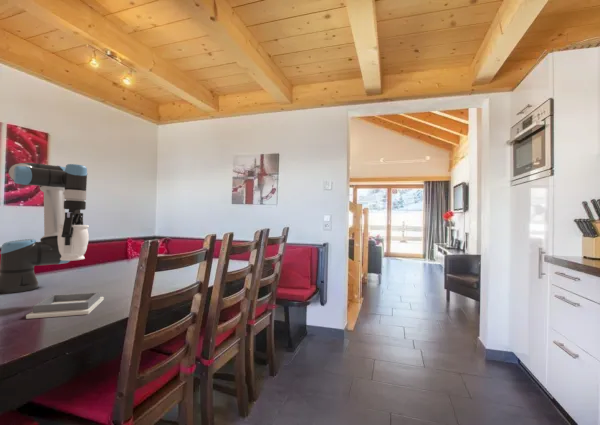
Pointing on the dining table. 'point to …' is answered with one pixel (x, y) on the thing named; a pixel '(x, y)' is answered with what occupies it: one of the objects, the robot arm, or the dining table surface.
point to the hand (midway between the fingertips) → (72, 251)
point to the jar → (74, 243)
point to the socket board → (66, 305)
